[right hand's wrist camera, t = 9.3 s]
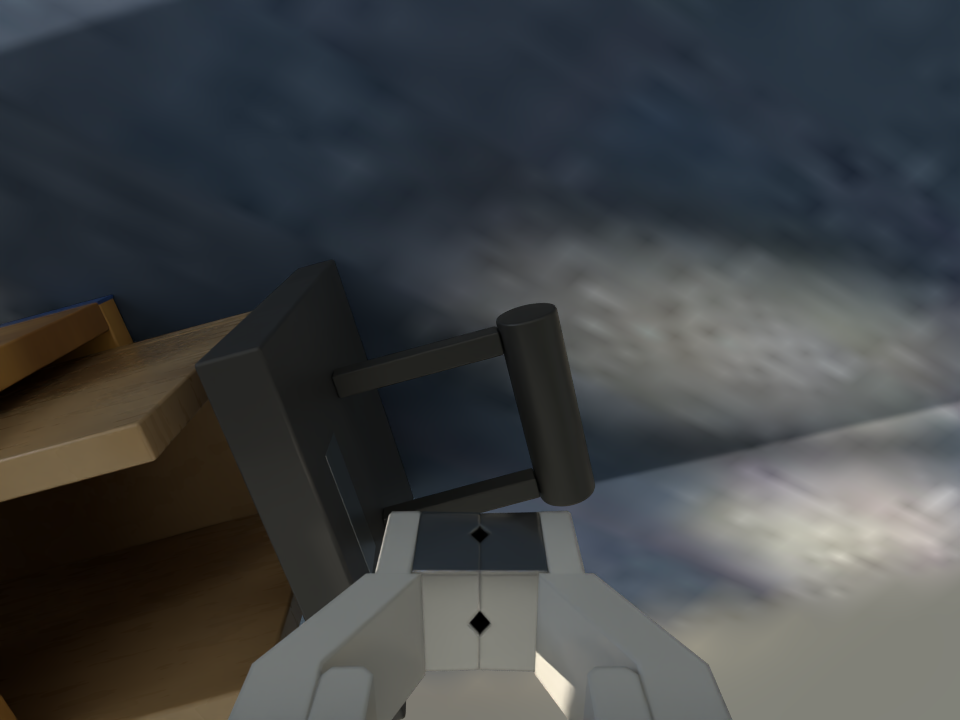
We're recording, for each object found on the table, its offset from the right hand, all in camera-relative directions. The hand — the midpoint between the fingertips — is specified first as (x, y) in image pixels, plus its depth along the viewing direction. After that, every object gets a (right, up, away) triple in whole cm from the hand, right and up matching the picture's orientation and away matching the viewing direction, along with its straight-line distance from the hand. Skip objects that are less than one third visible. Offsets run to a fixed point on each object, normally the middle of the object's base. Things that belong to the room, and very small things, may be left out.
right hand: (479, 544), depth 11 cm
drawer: (-8, +1, +10) cm, 13 cm away
